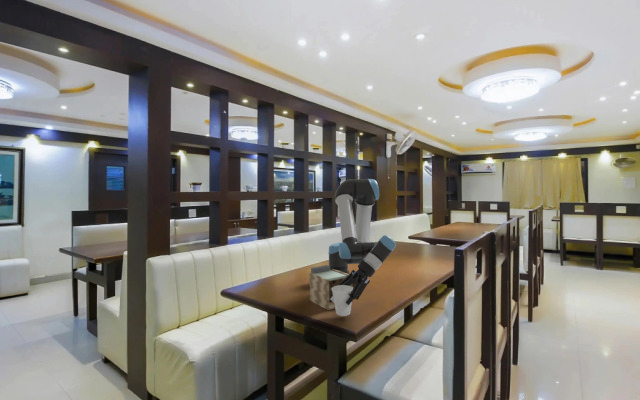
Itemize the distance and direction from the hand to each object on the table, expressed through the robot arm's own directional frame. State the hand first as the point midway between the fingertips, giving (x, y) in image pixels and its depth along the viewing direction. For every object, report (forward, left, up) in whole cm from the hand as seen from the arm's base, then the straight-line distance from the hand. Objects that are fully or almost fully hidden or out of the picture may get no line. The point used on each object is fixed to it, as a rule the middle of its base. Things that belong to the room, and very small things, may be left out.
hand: (336, 305), depth 135 cm
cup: (+1, +3, -4) cm, 5 cm away
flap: (-21, +10, +7) cm, 24 cm away
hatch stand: (-18, +10, -6) cm, 22 cm away
